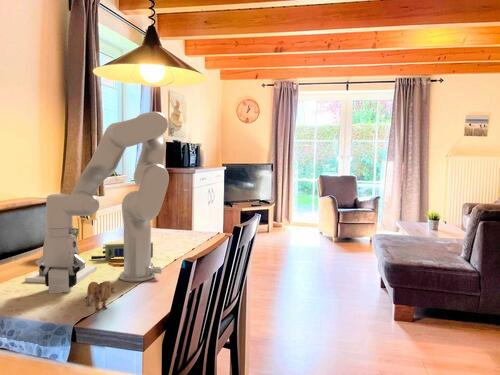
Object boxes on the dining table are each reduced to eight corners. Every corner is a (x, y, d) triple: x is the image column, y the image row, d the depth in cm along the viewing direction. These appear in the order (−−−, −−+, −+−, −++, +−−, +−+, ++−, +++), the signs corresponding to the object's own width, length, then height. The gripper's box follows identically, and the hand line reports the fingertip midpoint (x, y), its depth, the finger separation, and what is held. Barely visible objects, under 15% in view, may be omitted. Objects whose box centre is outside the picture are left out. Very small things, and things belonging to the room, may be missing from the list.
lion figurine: (119, 311, 111) (118, 280, 110) (101, 316, 107) (101, 285, 106) (92, 298, 120) (92, 269, 119) (76, 302, 116) (75, 273, 115)
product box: (53, 287, 128) (53, 265, 128) (73, 286, 130) (72, 265, 129) (48, 293, 122) (47, 271, 122) (68, 292, 124) (68, 270, 123)
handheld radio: (152, 258, 166) (90, 261, 159) (152, 256, 170) (91, 260, 162) (152, 243, 166) (90, 245, 159) (152, 241, 169) (91, 244, 162)
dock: (96, 269, 148) (96, 261, 147) (76, 283, 132) (76, 274, 132) (51, 268, 149) (51, 259, 148) (25, 281, 133) (25, 272, 132)
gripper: (91, 230, 128) (92, 282, 129) (40, 229, 128) (41, 280, 130) (80, 235, 120) (81, 290, 122) (26, 233, 121) (28, 288, 122)
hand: (61, 285), depth 126 cm, fingers closed on product box, 7 cm apart
